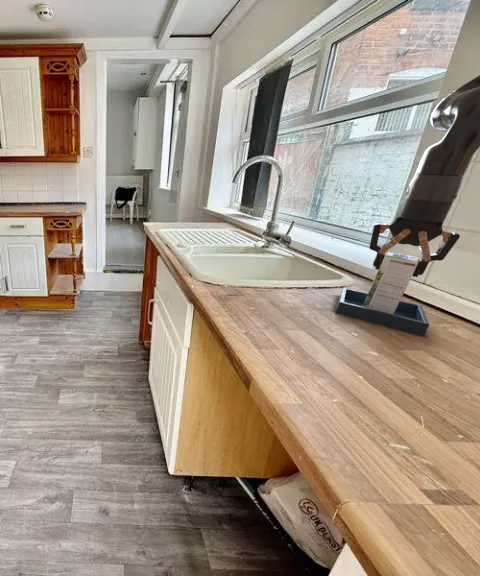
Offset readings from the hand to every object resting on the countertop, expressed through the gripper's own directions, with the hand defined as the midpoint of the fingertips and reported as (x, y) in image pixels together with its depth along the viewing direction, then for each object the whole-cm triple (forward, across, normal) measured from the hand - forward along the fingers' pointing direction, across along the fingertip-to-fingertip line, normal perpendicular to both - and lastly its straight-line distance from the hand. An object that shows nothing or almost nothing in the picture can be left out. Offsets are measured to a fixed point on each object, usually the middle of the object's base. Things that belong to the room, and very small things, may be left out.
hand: (395, 272), depth 71 cm
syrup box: (+11, 0, 0) cm, 11 cm away
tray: (+11, 0, 0) cm, 11 cm away
